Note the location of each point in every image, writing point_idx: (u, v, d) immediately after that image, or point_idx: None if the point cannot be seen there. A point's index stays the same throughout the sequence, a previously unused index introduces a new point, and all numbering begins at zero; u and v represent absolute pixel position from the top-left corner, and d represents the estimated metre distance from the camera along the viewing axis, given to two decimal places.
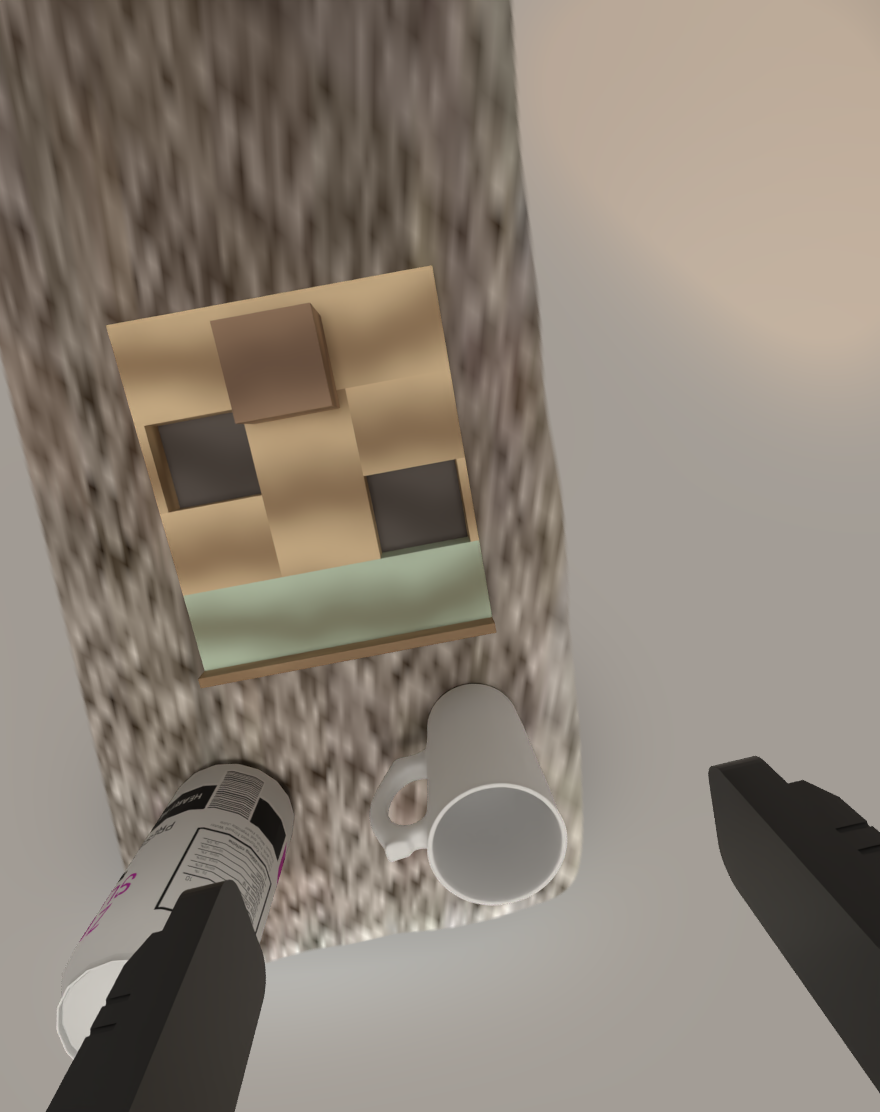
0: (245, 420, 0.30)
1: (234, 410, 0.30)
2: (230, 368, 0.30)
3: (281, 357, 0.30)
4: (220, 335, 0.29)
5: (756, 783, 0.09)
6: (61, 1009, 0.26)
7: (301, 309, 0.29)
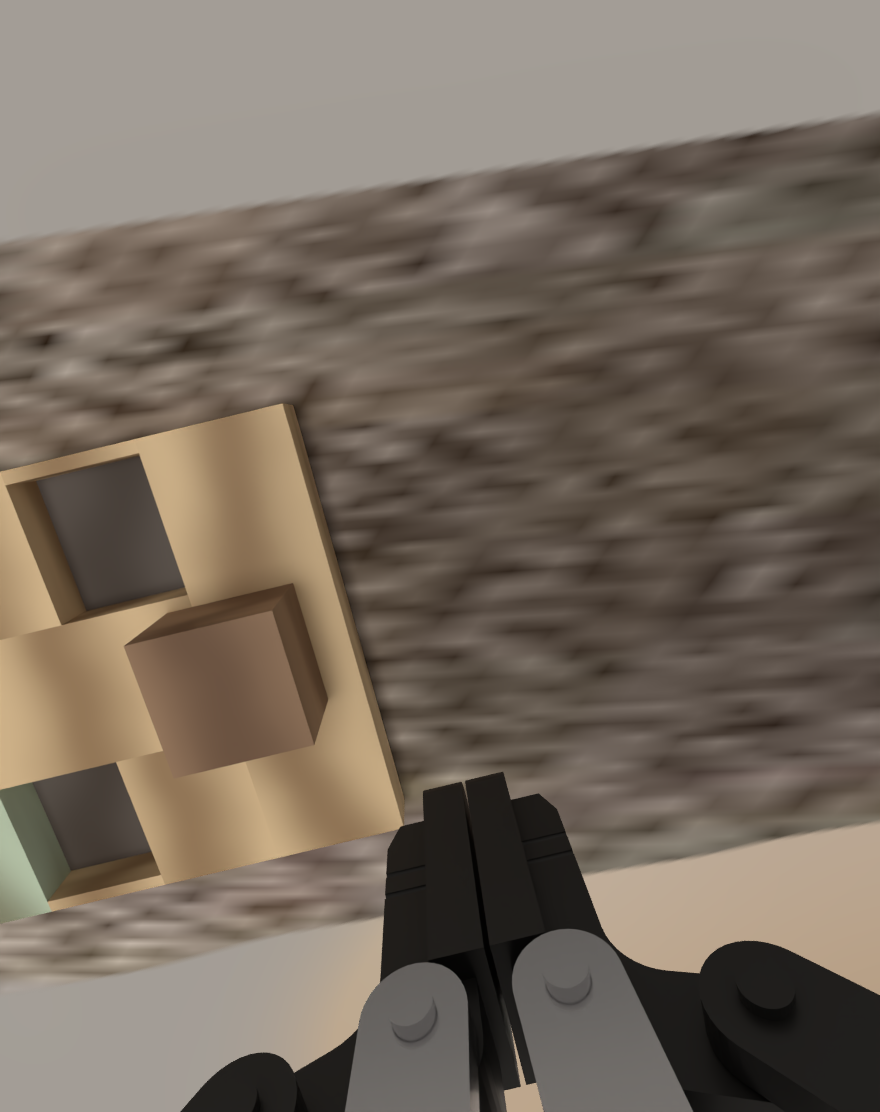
0: (130, 661, 0.20)
1: (143, 644, 0.19)
2: (206, 639, 0.19)
3: (232, 710, 0.20)
4: (253, 625, 0.19)
5: (486, 797, 0.10)
6: None
7: (303, 734, 0.20)
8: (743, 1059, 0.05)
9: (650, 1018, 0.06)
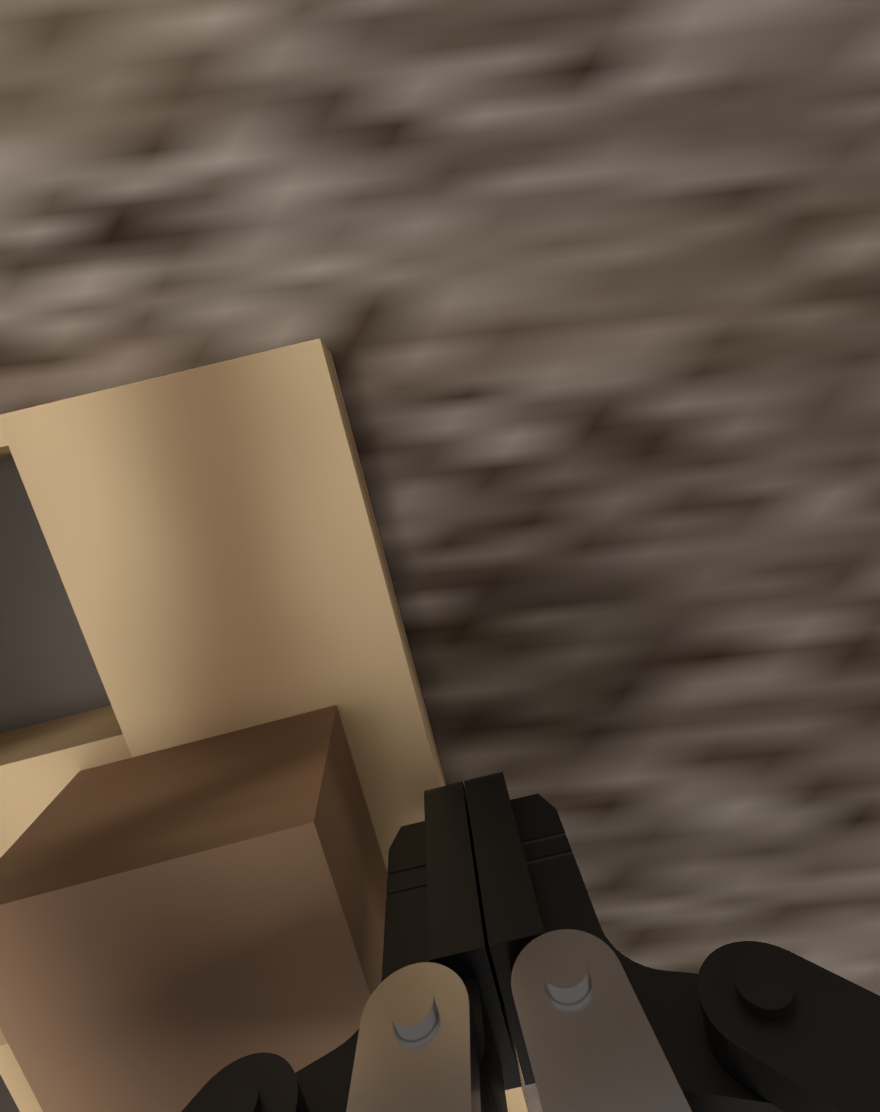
0: None
1: None
2: (153, 894, 0.08)
3: (218, 1041, 0.09)
4: (267, 857, 0.08)
5: (485, 797, 0.10)
6: None
7: None
8: (742, 1059, 0.05)
9: (649, 1018, 0.06)
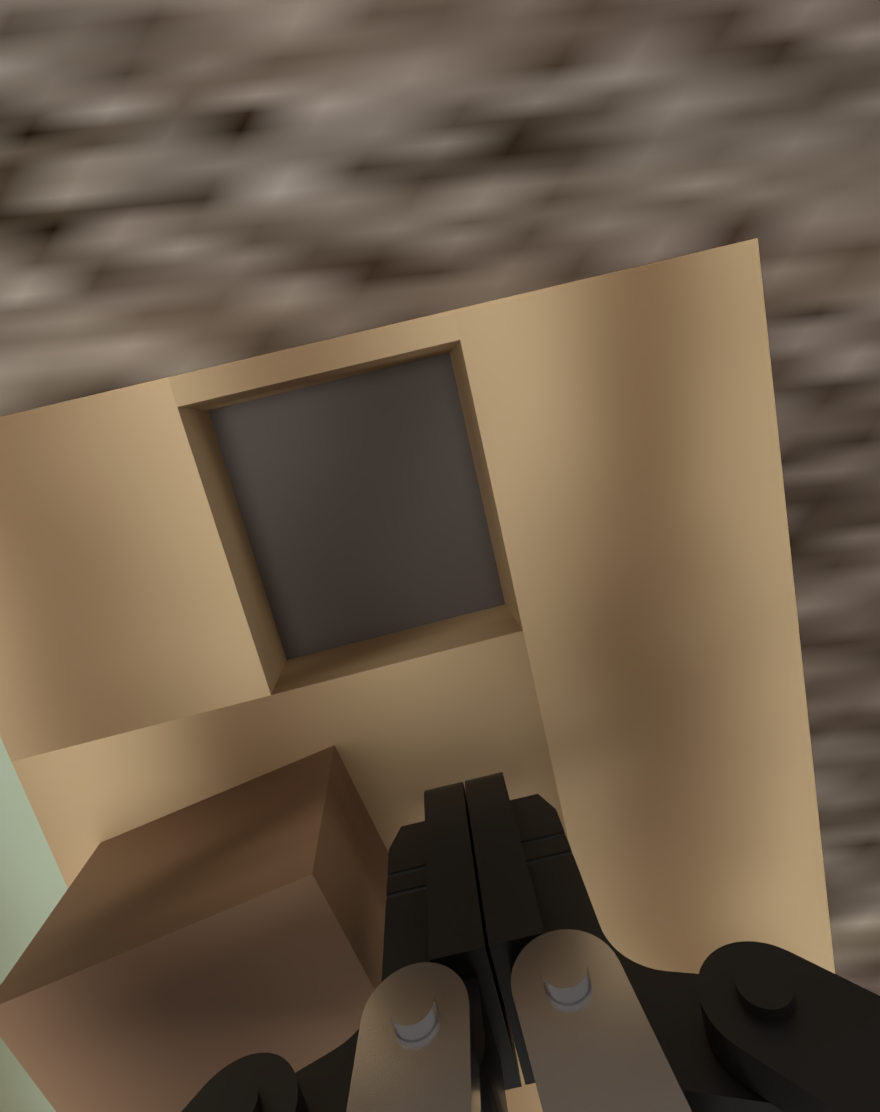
0: (5, 1039, 0.08)
1: (28, 999, 0.08)
2: (171, 962, 0.08)
3: None
4: (273, 913, 0.08)
5: (485, 797, 0.10)
6: None
7: None
8: (742, 1059, 0.05)
9: (649, 1018, 0.06)
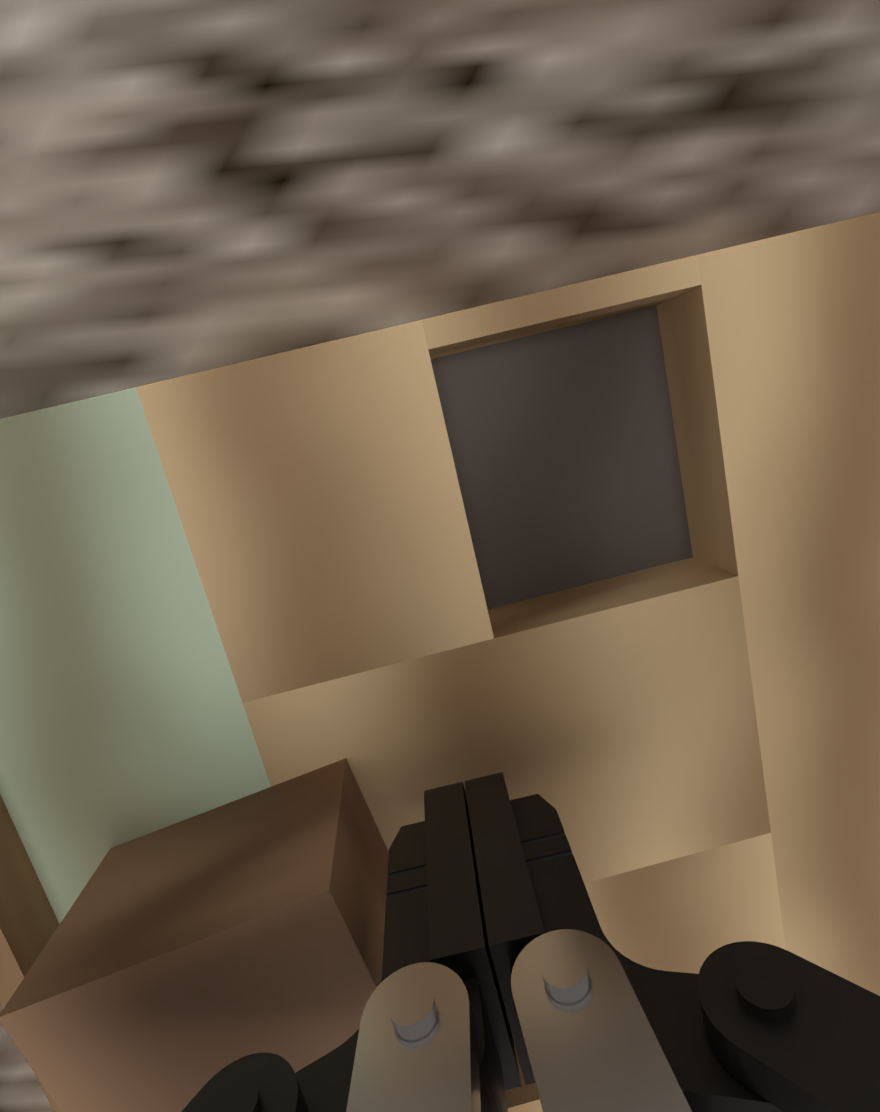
0: (19, 1045, 0.08)
1: (43, 1007, 0.08)
2: (186, 973, 0.08)
3: None
4: (289, 927, 0.08)
5: (485, 797, 0.10)
6: None
7: None
8: (742, 1060, 0.05)
9: (649, 1018, 0.06)
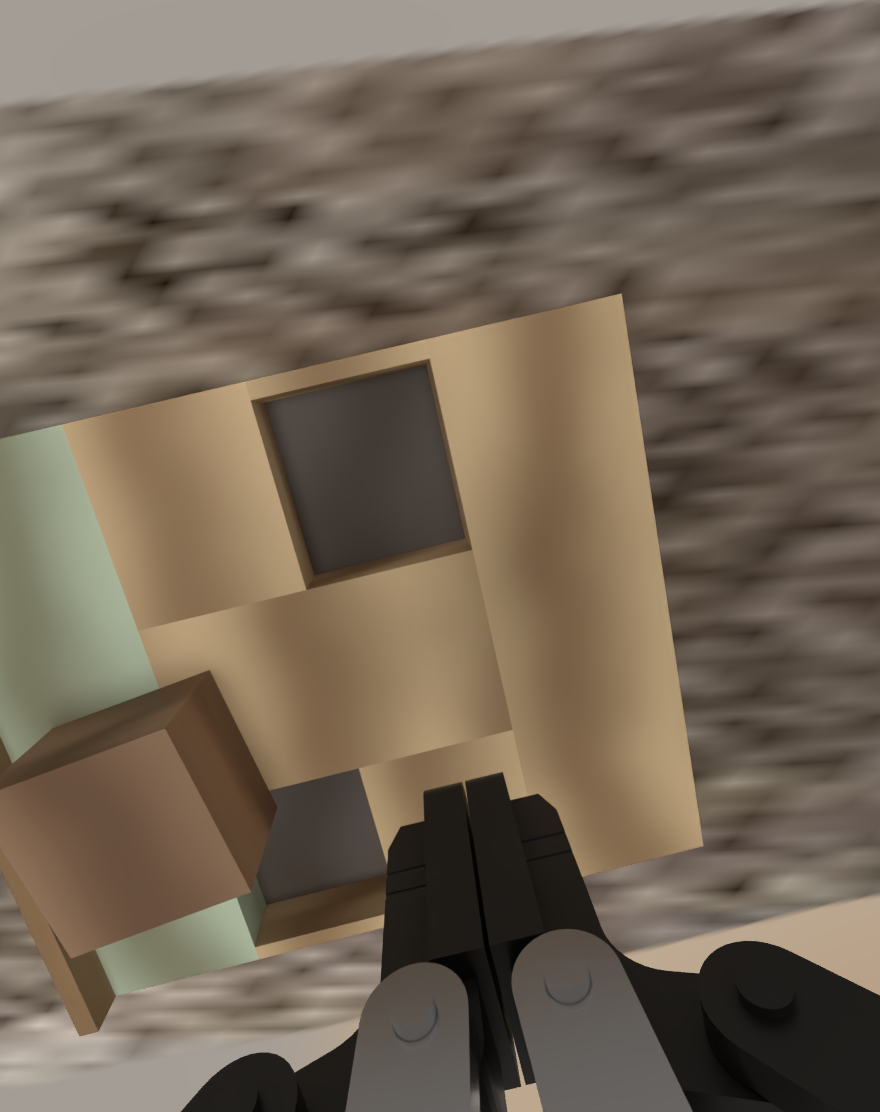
0: None
1: None
2: (82, 777, 0.14)
3: (134, 862, 0.15)
4: (142, 751, 0.14)
5: (485, 797, 0.10)
6: None
7: (234, 880, 0.15)
8: (743, 1059, 0.05)
9: (650, 1018, 0.06)
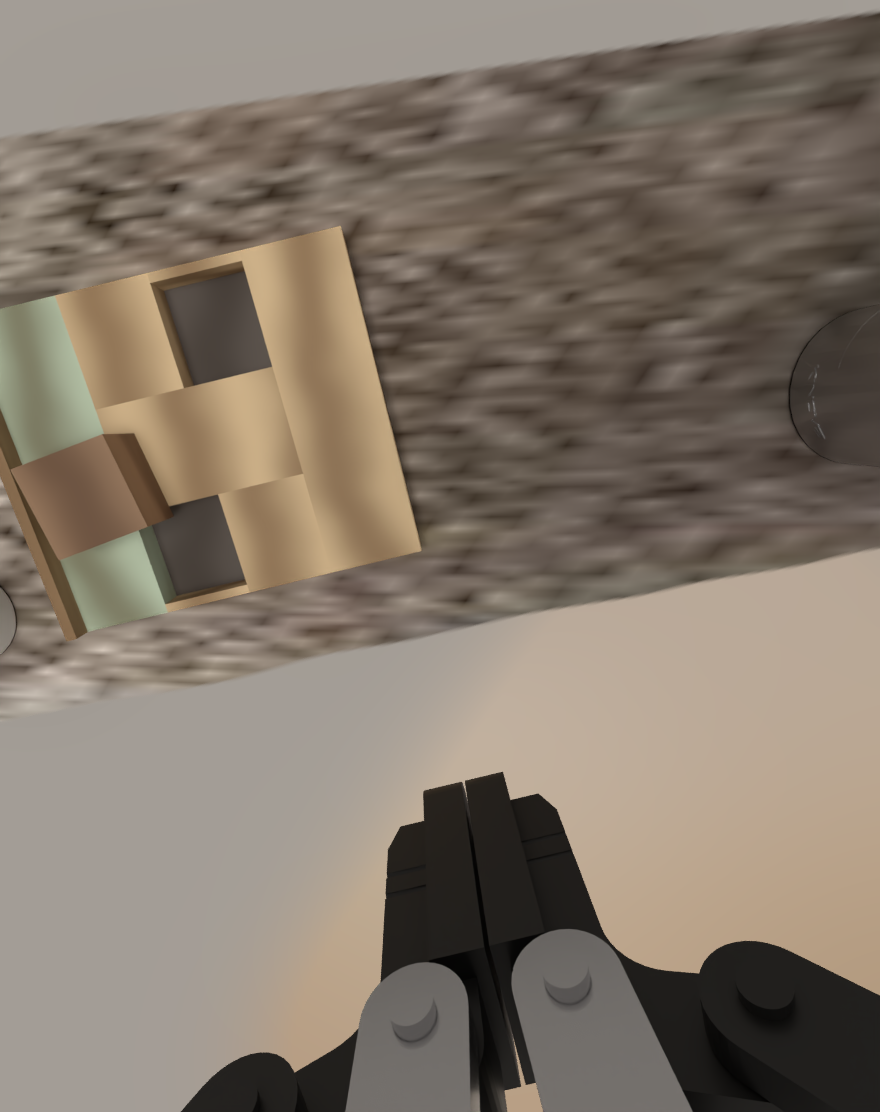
0: (16, 479, 0.30)
1: (23, 467, 0.30)
2: (62, 459, 0.30)
3: (89, 507, 0.30)
4: (91, 445, 0.30)
5: (485, 797, 0.10)
6: None
7: (139, 519, 0.31)
8: (742, 1059, 0.05)
9: (650, 1018, 0.06)
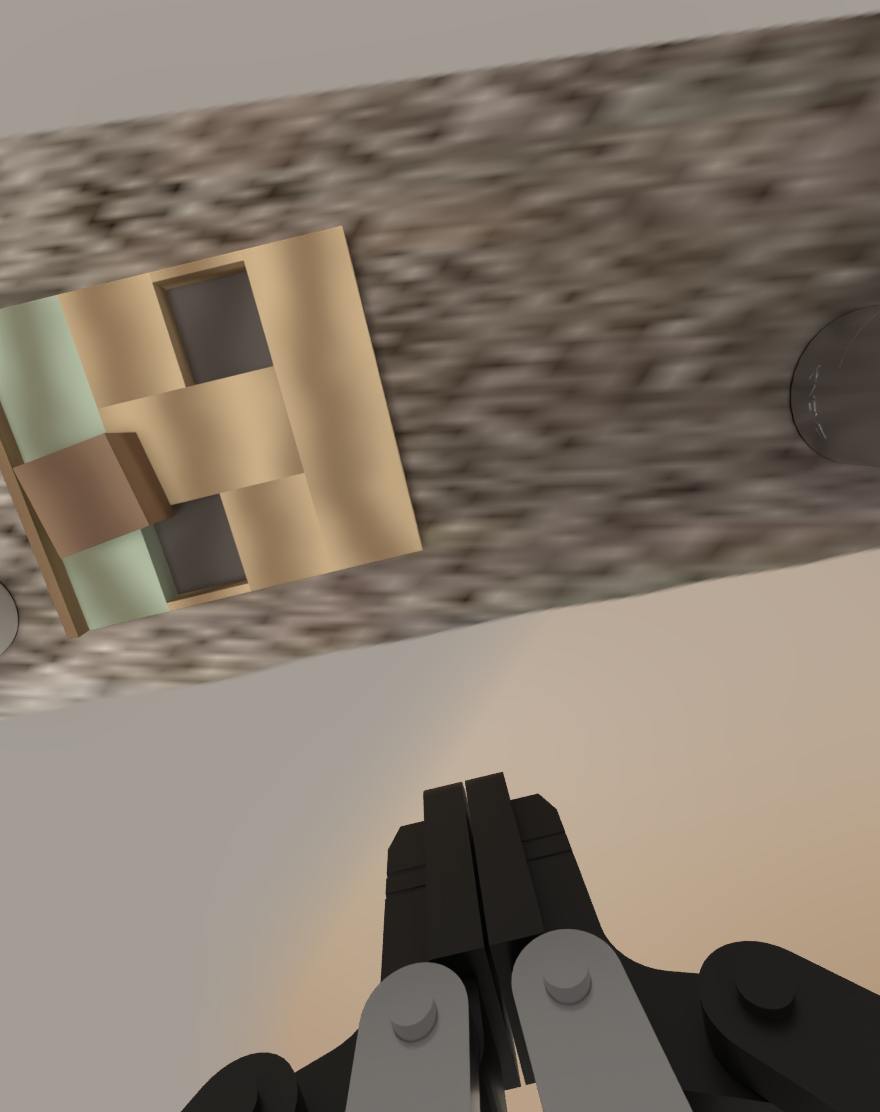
0: (18, 477, 0.30)
1: (25, 465, 0.30)
2: (65, 457, 0.30)
3: (91, 505, 0.30)
4: (93, 444, 0.30)
5: (485, 797, 0.10)
6: None
7: (140, 518, 0.31)
8: (743, 1059, 0.05)
9: (649, 1018, 0.06)
